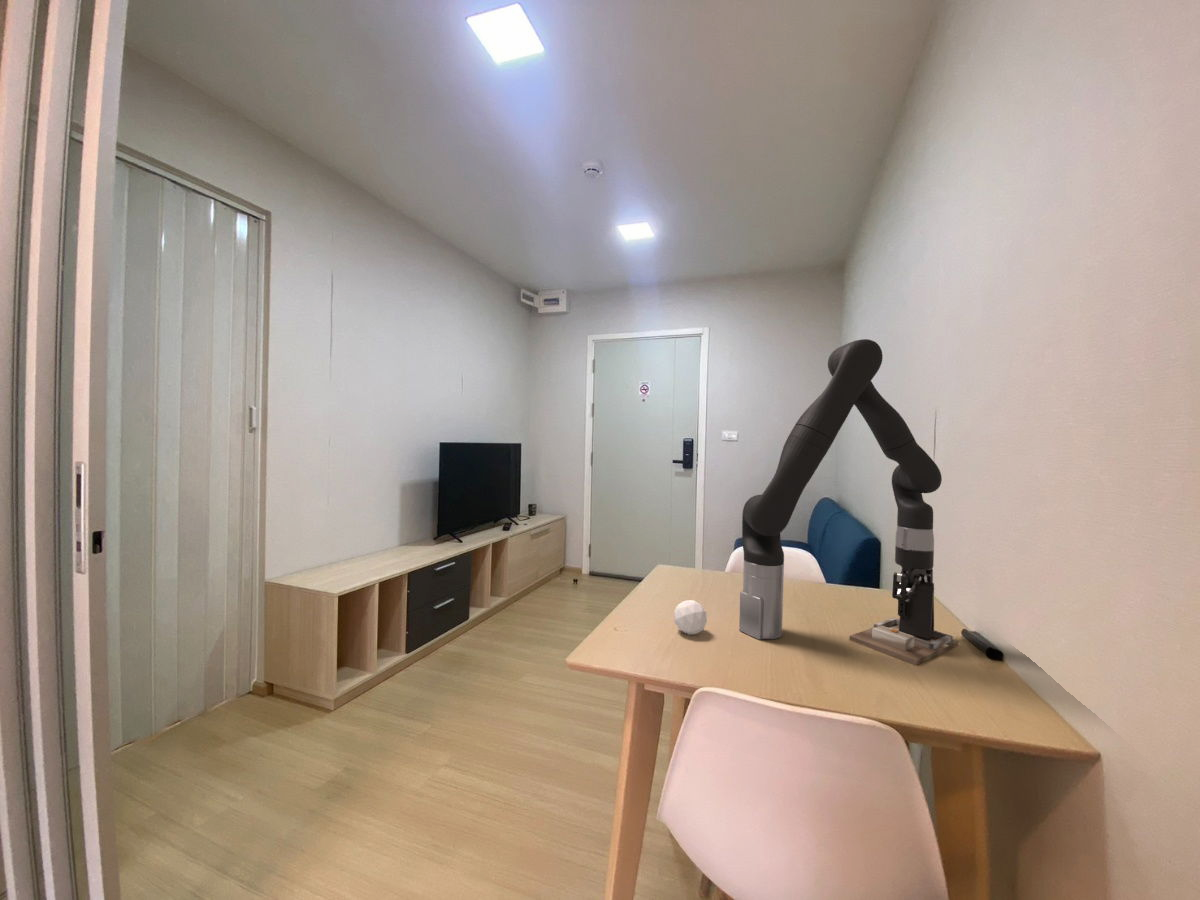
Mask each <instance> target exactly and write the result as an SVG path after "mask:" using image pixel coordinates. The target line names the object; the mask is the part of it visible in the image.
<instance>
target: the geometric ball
mask: <svg viewBox="0 0 1200 900" xmlns="http://www.w3.org/2000/svg"><path fill="white" fill-rule="evenodd" d="M707 617H708V616H707V611H706V610H705V608H704V606H703V605H702V604H700V603H699V602H697V601H695V600H694V599H692V600H691V599H690V600H683V601H682V602H680V603H679V604H677V605H676V607H675V610H674V612H673V619H674V620H673V622H674V624H675V625H676V626H677V628H678V629H679V631H681V632H682V633H684V634H686V633H687V634H688V635H697V634H699V633H700V632H702V631H703V630H704V629H705V627H706V625H707V621H708V620H707ZM687 634H686V635H687Z"/></svg>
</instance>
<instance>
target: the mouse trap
mask: <svg viewBox="0 0 1200 900" xmlns="http://www.w3.org/2000/svg"><path fill="white" fill-rule="evenodd" d="M899 621H900V618H896V617H892V618H889V619H887V620H883V621H880V622H877V623H875V624H873V627H871V628H867V629H865V630H862V631H859V632H857V633H853V634H851V635H849V641H851V640H852V642H854V641H855V642H854V643H856V642H857V643H856V644H859V643H860V644H859V645H862V644H863V645H862V646H864V645H865V646H864V647H867V648H870V649H873V650H875V651H878V652H881V653H883V654H886V655H888V656H891V657H894V658H896V659H899V660H901V661H904V662H906V663H909V664H912V665H915V666H918V665H920V664H922V663H924V662H926V661H928V660H931V659H934V657H937V656H939V655H942V654H944V653H945V652H948V651H950V650H952V649H954V648H956V647H958V646H959V640H956V639H953V638H954V637H953V635H950V634H948V633H944V632H941V631H937V630H935V629H934V631H933V634H932V637H931V640H926V639H922V638H918V637H914V636H912V635H909V634H906V633H903V632H900V631H899Z"/></svg>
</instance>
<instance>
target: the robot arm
mask: <svg viewBox="0 0 1200 900" xmlns="http://www.w3.org/2000/svg"><path fill="white" fill-rule="evenodd" d="M883 356H884V355H883V351H882V348H881V346H880V345H879V343H877V342H876V341H874V340H873V339H867V338H864V339H863V338H862V339H857V340H853V341H851V342H848V343H846V344H844V345H842V346H839V347H837V348H835V349H834V350H833V351H832V352H831V354H830V355H829V356H828V359H827V369H828V371H829V373H830V375H831V378H830V380H829V383H828V384H827V386H826V387H825V388H824V390H823V391H822V393H821V394H820V395H819V396H818V397H816V399H815V400H813V402H812V403H811V404H810V405H809V407H807V408H806V409H805V411H804V412H803V413H802V414H801V416H800V417H799V418H798V419H797V421H796V422H795V425H794V426H793V428H792V430H791V431H790V433H789V434H788V435H787V438H786V441H785V442H784V445H783V446H782V451H781V454H780V458H779V460H778V461H779V462H778V465H777V468H776V470H775V473H774V476H773V477H772V479H771V480H770V482H769V483H768V485H767V487H766V488H765V489H764V491H763V492H762V494H756V495H753V496H751V497H750V498H749V499H747V501H746V502H745V504H744V505H743V509H742V515H741V517H742V521H741V523H742V524H741V525H742V526H741V527H742V529H741V537H742V539H741V540H742V541H741V542H742V543H741V544H742V550H743V573H742V574H743V576H742V578H743V579H742V580H743V581H742V591H740V592H739V593H740V594H739V622H738V624H739V628H738V629H739V630H738V631H740V632H742V633H745V634H747V635H748V636H751V637H753V638H755V639H758V640H775V639H776V640H777V639H780V638H781V637H782V636H783V618H784V617H783V613H784V610H783V609H784V607H783V606H784V573H785V570H784V569H785V568H784V567H785V553H784V549H783V547H782V546H783V545H782V542H781V541H782V540H781V533H782V532H783V531H784V530H785V529H786V528H787V526H788V525H789V522H790V520H791V518H792V516H793V514H794V511H795V509H796V506H797V504H798V503H799V499H801V498H800V497H801V495H802V494H803V491H804V490H805V488H806V487H807V485H808V483H809V482H810V480H811V479H812V477H813V475H814V474H815V472H816V471H817V469H818V468H819V466H820V464H821V462H822V460H823V459H824V457H826V455H827V453H828V452H829V449H830V448H831V446H832V444H833V443H834V441H835V439H836V437H837V435H838V434H839V431H841V428H842V427H843V425H844V423H845V421H846V420H847V417H848V416H849V414H850V412H851V411H852V409H853V407H854V406H855V407H856V409H857V411H858V412H859V413H860V414H861V416H862V417H863V419H864V421H865V422H866V424H867V425H868V427H869V429H870V430H871V432H872V434H873V436H874V438H875V439H876V442H877V444H878V445H879V447H880V449H881V450H882V453H883V454H884V455H885V457H886V458H887V459H889V460H891V461H894V462H896V463H897V464H898V465H897V466H896V467H895V468H894V470H893V471H892V475H891V487H892V492H893V496H894V501H895V503H896V507H897V518H896V519H897V521H896V525H897V526H896V531H895V546H894V547H895V548H894V551H895V552H894V562H895V564H896V565H898V566H900V567H901V571H900V572H893V576H892V594H891V595H892V596H891V597H892V599H896V600H897V615H898V616H899V618H900V617H904V618H909V617H910V599H911V596H912V595H914V594H915V593H916V590H917V587H918V585H919V584H920V582H921V581H924V582H929V583H934V582H933V580H934V576H933V575H934V570H933V568H934V564H935V563H934V561H935V560H934V556H935V555H934V554H935V537H934V536H935V535H934V509H933V507H932V505H930V504H928V503H927V502H926V501H925V500H924V498H923V494H931V493H933V492H936V491H937V490H938V489H939V488H940V487H941V484H942V479H943V478H942V477H943V476H942V472H941V470H940V468H939V466H938V465H937V463H936V462H935V461H934V459H932V458H931V456H930V455H929V454H928V453H927V452H926V451H925V450H924V449H923V448H922V447H921V446H920V445H919V444H918V443H917V440H916V439H915V436H914V434H912V431H911V429H910V428H909V426H908V425H907V423H906V421H905V420H904V418H903V417H902V415H901V414H900V413H899V412H898V411H897V410H896V409H895V408H894V407H893V406H892V405H891V404H890V403H889V402H888V401H887V400H886V399H885V398H884V397H883V396H882V395H881V393H879V391H878V389H877V388H876V386H875V385H874V383H873V382H872V380H873V378H874V377H875V376H876V375H877V373H878V372H879V370H880V368H881V365H882V364H883ZM906 594H907V596H906Z"/></svg>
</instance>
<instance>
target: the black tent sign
mask: <svg viewBox="0 0 1200 900" xmlns="http://www.w3.org/2000/svg"><path fill="white" fill-rule="evenodd" d="M906 596H907V594H906ZM934 598H935V583H934V582H933V583H929V582H924V581H921V582H920V584H919V585H918V587H917V590H916V593H915V594H914V595H912V596H911V599H910V617H909V618H904V617H900V616H899V620H900V621H899V631H900V632H903V633H906V634H909V635H912V636H914V637H918V638H922V639H926V640H931V637H932V634H933V631H934V630H935V599H934Z"/></svg>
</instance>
